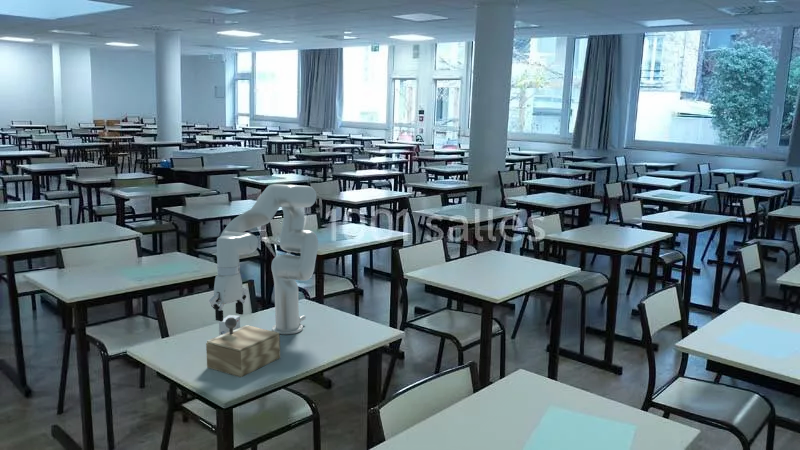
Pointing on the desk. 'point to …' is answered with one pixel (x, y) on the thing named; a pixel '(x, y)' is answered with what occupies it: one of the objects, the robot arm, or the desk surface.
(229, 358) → the wooden box
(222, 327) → the ink box
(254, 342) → the wooden box lid
